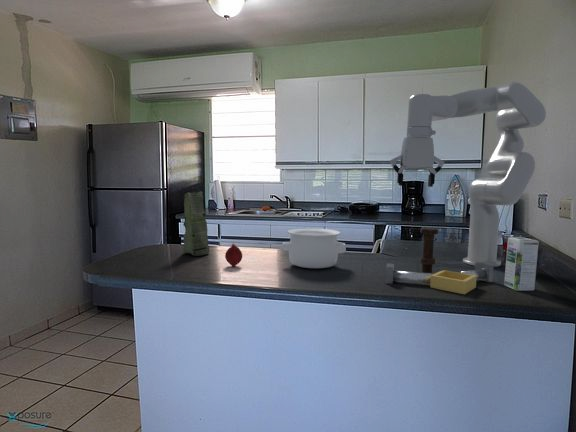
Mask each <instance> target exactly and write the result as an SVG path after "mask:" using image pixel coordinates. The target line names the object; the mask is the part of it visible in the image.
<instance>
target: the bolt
mask: <svg viewBox="0 0 576 432" xmlns="http://www.w3.org/2000/svg"><path fill="white" fill-rule="evenodd" d="M419 232H420V233H421V234H423V235H422V239H423V241H422V242H423V245H422V256H420V257H419V262H420V264H421V273H431V274H433V265H435V264H436V259H435V257H433V256H434V244H435V243H434V240H435V235H439V229H438V228H434V227H420V231H419Z"/></svg>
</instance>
